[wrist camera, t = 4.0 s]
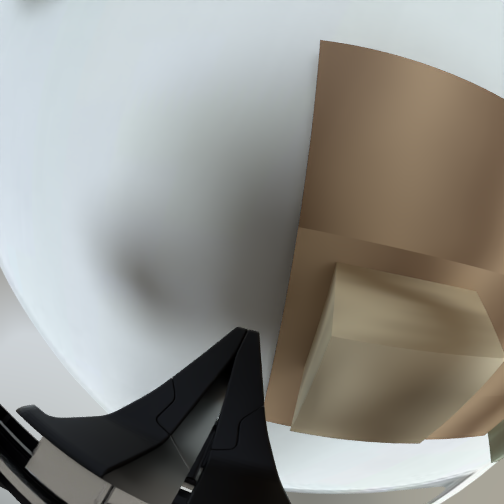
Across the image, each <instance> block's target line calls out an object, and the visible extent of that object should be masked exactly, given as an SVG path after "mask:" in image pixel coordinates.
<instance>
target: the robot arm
mask: <svg viewBox="0 0 504 504" xmlns="http://www.w3.org/2000/svg"><path fill="white" fill-rule="evenodd" d="M16 412H17V413H18V414H19V415H20V416H21V417H23V419H24V420H26V422H28V423H29V424H30V425H31V426H32V427H33V428H34V429H35V430H36V431H37V432H39V433H40V434H41V435H42V436H43V437H42V439H41V440H40V441H38V440H37V439H36V438H35V437H33V436H32V435H31V434H30V433H29V432H28V431H27V430H26V429H25V428H24V427H23V426H22V425H21V424H19V422H18V421H17V420H16V419H15V418H14V417H13V416H12V415H11V414H10V413H8V411H6V410H5V408H4V407H3V406H2V405H1V404H0V487H2V488H4V489H6V490H8V491H9V492H10V493H11V494H12V495H13V496H14V497H15V498H16V499H17V500H18V501H19V502H20V503H21V504H291V502H290V500H289V498H288V496H287V494H286V492H285V490H284V488H283V486H282V484H281V481H280V479H279V476H278V472H277V469H276V465H275V461H274V457H273V453H272V449H271V445H270V441H269V436H268V431H267V425H266V417H265V407H264V391H263V378H262V364H261V351H260V337H259V332H257V331H253V330H247V329H245V328H241V327H236V328H235V329H234V330H232V331H231V332H230V333H229V334H227V335H226V336H225V337H224V338H222V339H221V340H220V341H219V342H217V343H216V344H215V345H214V346H212V347H211V348H210V349H209V350H207V351H206V352H205V353H203V354H202V355H201V356H200V357H198V358H197V359H196V360H194V361H193V362H192V363H191V364H189V365H188V366H187V367H185V368H184V369H183V370H181V371H180V372H179V373H177V374H176V375H175V376H173V379H172V378H171V379H169V380H168V381H167V382H165V383H164V384H162V385H161V386H160V387H158V388H157V389H155V390H154V391H152V392H150V393H149V394H147V395H145V396H144V397H142V398H140V399H138V400H136V401H134V402H133V403H131V404H129V405H127V406H125V407H123V408H121V409H119V410H118V411H115V412H113V413H111V414H107V415H103V416H93V417H73V418H57V417H52V416H49V415H47V414H45V413H44V412H43V411H41V410H40V409H39V408H38V407H36V406H35V405H28V406H23V407H21V408H18V409H17V410H16ZM219 414H220V415H219ZM218 416H219V419H218V422H217V421H216V420H217V418H218ZM181 486H183V487H186V488H188V489H190V490H192V492H191V493H190V492H188V491H185V490H183V489H180V487H181Z"/></svg>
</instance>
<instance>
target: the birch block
mask: <svg viewBox="0 0 504 504" xmlns="http://www.w3.org/2000/svg"><path fill="white" fill-rule="evenodd" d="M503 362H504V352H503V349H502V347H501V344H500V342H499V339H498V337H497V334H496V332H495V330H494V327H493V325H492V323H491V321H490V318H489V316H488V314H487V312H486V310H485V308H484V306H483V304H482V302H481V300H480V298H479V296H478V294H477V292H476V291H472V290H467V289H463V288H458V287H453V286H449V285H444V284H440V283H435V282H430V281H425V280H421V279H416V278H411V277H407V276H402V275H397V274H392V273H388V272H383V271H378V270H373V269H369V268H364V267H359V266H354V265H349V264H344V263H340V262H336V266H335V269H334V273H333V277H332V280H331V284H330V288H329V291H328V295H327V298H326V301H325V305H324V308H323V311H322V315H321V318H320V321H319V324H318V328H317V331H316V334H315V337H314V340H313V343H312V346H311V349H310V352H309V355H308V358H307V361H306V363H305V366H304V371H303V376H302V380H301V385H300V390H299V394H298V399H297V403H296V408H295V412H294V416H293V421H292V425H291V429H290V431H294V432H299V433H305V434H310V435H317V436H323V437H330V438H337V439H346V440H355V441H366V442H381V443H421V442H422V441H423V440H424V439H426V438H427V437H428V436H430V435H431V434H432V433H433V432H434V431H436V430H437V429H438V428H439V427H440V426H442V425H443V424H444V423H445V422H446V421H447V420H448V419H450V418H451V417H452V416H453V415H454V414H455V413H456V412H457V411H458V410H459V409H460V408H461V407H462V406H463V405H465V404H466V403H467V402H468V401H469V400H470V399H471V398H472V397H473V396H474V395H475V393H476V392H477V391H478V390H479V389H480V388H481V387H482V386H483V385H484V384H485V383H486V382H487V381H488V379H489V378H490V377H491V376H492V375H493V374H494V373H495V371H496V370H497V369H498V368H499V367H500V365H501V364H502V363H503Z"/></svg>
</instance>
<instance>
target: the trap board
mask: <svg viewBox="0 0 504 504" xmlns="http://www.w3.org/2000/svg"><path fill="white" fill-rule="evenodd" d="M336 262H340V263H344V264H349V265H354V266H359V267H364V268H369V269H373V270H378V271H383V272H388V273H392V274H397V275H402V276H407V277H411V278H416V279H421V280H425V281H430V282H435V283H440V284H444V285H449V286H453V287H458V288H463V289H467V290H472V291H476V292H477V294H478V296H479V298H480V300H481V302H482V304H483V306H484V308H485V310H486V312H487V314H488V316H489V318H490V321H491V323H492V325H493V327H494V330H495V332H496V334H497V337H498V339H499V342H500V344H501V347H502V349H503V352H504V99H503V98H501V97H499V96H497V95H496V94H494V93H492V92H490V91H488V90H486V89H484V88H482V87H480V86H478V85H476V84H473V83H471V82H469V81H467V80H465V79H462V78H460V77H458V76H455V75H453V74H450V73H448V72H445V71H443V70H440V69H437V68H434V67H432V66H429V65H426V64H423V63H420V62H417V61H414V60H411V59H407V58H404V57H400V56H397V55H393V54H389V53H386V52H382V51H377V50H373V49H369V48H364V47H359V46H354V45H349V44H343V43H337V42H330V41H323V40H320V52H319V64H318V75H317V85H316V95H315V105H314V114H313V123H312V131H311V140H310V148H309V155H308V163H307V171H306V178H305V185H304V192H303V199H302V206H301V212H300V219H299V225H298V231H297V238H296V244H295V250H294V256H293V262H292V267H291V273H290V279H289V284H288V290H287V295H286V301H285V306H284V311H283V316H282V322H281V327H280V332H279V337H278V342H277V347H276V351H275V356H274V361H273V366H272V370H271V375H270V379H269V384H268V388H267V393H266V397H265V402H264V407H265V417H266V421H268V422H273V423H277V424H282V425H286V426H291V425H292V421H293V416H294V412H295V408H296V403H297V399H298V394H299V390H300V385H301V380H302V376H303V371H304V366H305V363H306V361H307V358H308V355H309V352H310V349H311V346H312V343H313V340H314V337H315V334H316V331H317V328H318V324H319V321H320V318H321V315H322V311H323V308H324V305H325V301H326V298H327V295H328V291H329V288H330V284H331V280H332V277H333V273H334V269H335V266H336ZM487 433H488V438H489V445H490V455H491V463H493V462H497V461H500V460H501V459H503V458H504V362H503V363H502V364H501V365H500V367H499V368H498V369H497V370H496V371H495V373H494V374H493V375H492V376H491V377H490V378H489V379H488V381H487V382H486V383H485V384H484V385H483V386H482V387H481V388H480V389H479V390H478V391H477V392H476V393H475V395H474V396H473V397H472V398H471V399H470V400H469V401H468V402H467V403H466V404H465V405H463V406H462V407H461V408H460V409H459V410H458V411H457V412H456V413H455V414H454V415H453V416H452V417H451V418H450V419H448V420H447V421H446V422H445V423H444V424H443V425H442V426H440V427H439V428H438V429H437V430H436V431H434V432H433V433H432V434H431V435H430V436H428V437H427V438H426V439H451V438H465V437H475V436H483V435H485V434H487Z"/></svg>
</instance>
